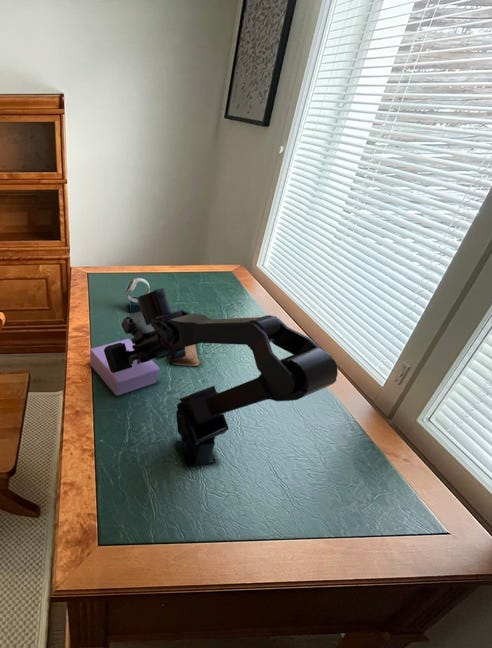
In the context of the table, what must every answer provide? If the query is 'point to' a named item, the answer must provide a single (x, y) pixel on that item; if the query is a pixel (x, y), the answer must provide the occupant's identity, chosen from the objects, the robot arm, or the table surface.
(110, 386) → the box
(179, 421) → the robot arm
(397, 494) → the table surface
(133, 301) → the watch
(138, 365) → the purple square slab
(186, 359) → the sunglasses case
